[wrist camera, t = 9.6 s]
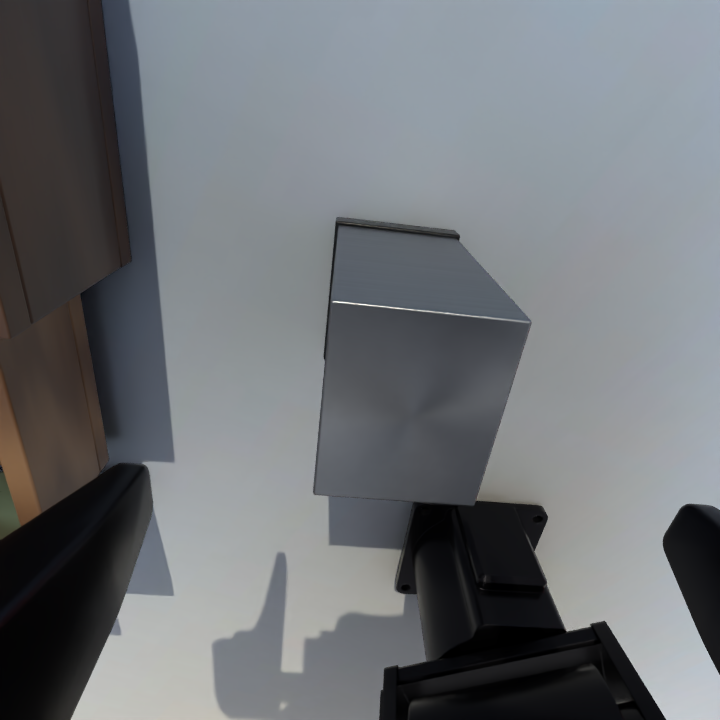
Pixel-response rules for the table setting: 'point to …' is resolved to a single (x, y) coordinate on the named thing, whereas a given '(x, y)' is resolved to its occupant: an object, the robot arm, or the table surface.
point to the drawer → (47, 416)
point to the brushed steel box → (412, 366)
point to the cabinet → (56, 159)
